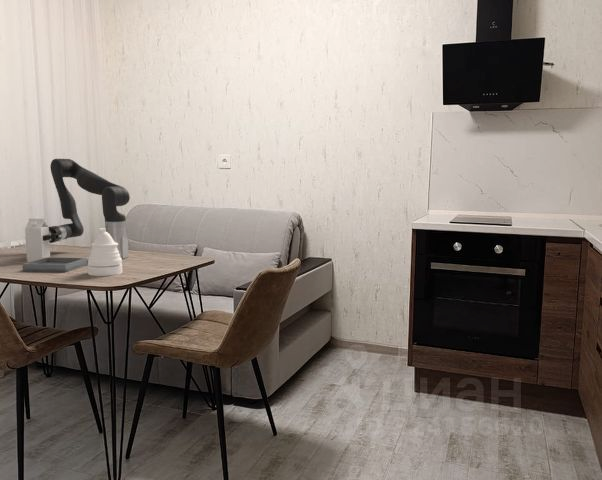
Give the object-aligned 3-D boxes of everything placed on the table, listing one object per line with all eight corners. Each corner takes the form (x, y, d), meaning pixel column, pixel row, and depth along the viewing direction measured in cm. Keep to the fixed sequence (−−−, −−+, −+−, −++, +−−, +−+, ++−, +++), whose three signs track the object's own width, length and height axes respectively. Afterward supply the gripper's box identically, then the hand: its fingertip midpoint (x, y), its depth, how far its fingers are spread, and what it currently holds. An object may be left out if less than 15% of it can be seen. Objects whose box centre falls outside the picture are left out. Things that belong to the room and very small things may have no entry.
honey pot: (117, 275, 214) (116, 229, 212) (83, 276, 213) (81, 229, 211) (125, 270, 227) (124, 226, 225) (93, 270, 226) (92, 226, 224)
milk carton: (35, 259, 251) (32, 217, 249) (50, 259, 251) (48, 218, 249) (26, 262, 244) (24, 219, 242) (42, 262, 244) (40, 219, 242)
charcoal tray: (87, 264, 238) (86, 258, 238) (65, 272, 221) (65, 264, 220) (47, 263, 240) (46, 257, 240) (22, 271, 222) (22, 263, 222)
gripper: (39, 225, 261) (19, 229, 244) (68, 226, 259) (49, 229, 243) (40, 241, 262) (20, 246, 245) (69, 242, 260) (50, 246, 244)
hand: (35, 238), depth 244 cm, fingers closed on milk carton, 7 cm apart
